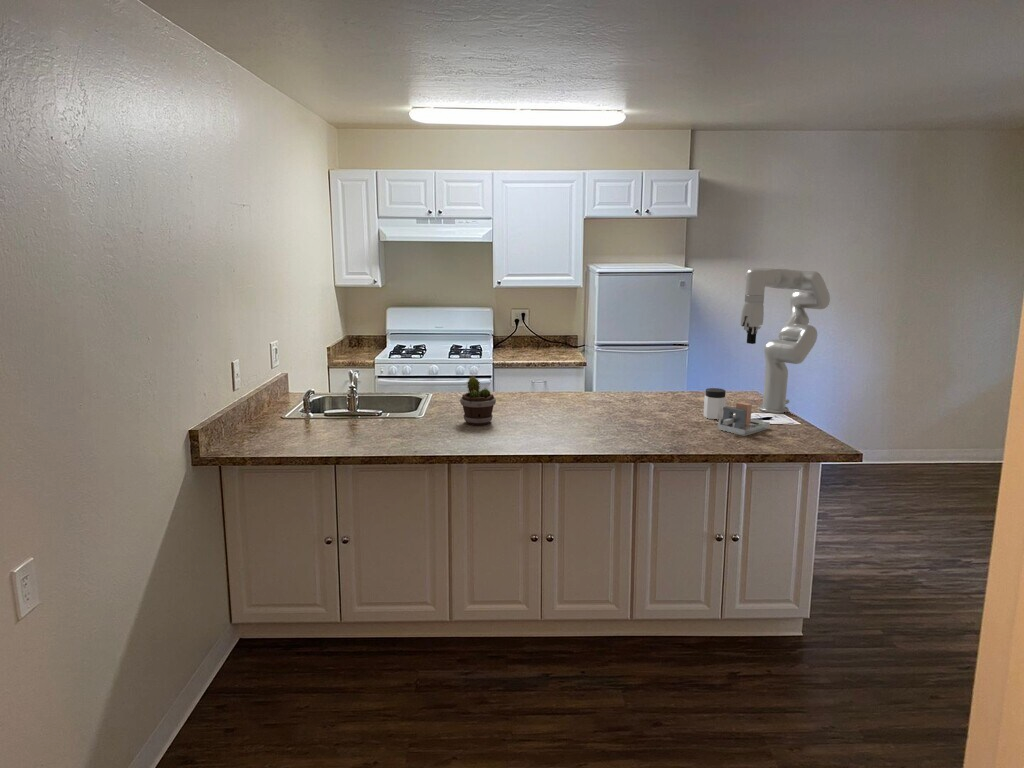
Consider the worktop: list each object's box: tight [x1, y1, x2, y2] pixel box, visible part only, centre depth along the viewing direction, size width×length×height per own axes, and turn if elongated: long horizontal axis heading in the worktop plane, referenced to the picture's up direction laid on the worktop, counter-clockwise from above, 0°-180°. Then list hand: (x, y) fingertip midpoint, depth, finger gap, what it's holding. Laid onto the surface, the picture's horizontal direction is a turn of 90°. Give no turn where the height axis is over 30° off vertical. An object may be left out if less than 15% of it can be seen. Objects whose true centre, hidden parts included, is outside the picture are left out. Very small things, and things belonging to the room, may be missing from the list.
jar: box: [702, 387, 727, 421], centre depth 307 cm, size 9×8×12 cm
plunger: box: [723, 401, 759, 425], centre depth 284 cm, size 15×8×8 cm, turn 130°
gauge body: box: [717, 405, 771, 437], centre depth 289 cm, size 18×12×10 cm, turn 130°
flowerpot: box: [459, 373, 497, 426], centre depth 296 cm, size 14×15×20 cm
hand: (751, 343), depth 302 cm, fingers closed
